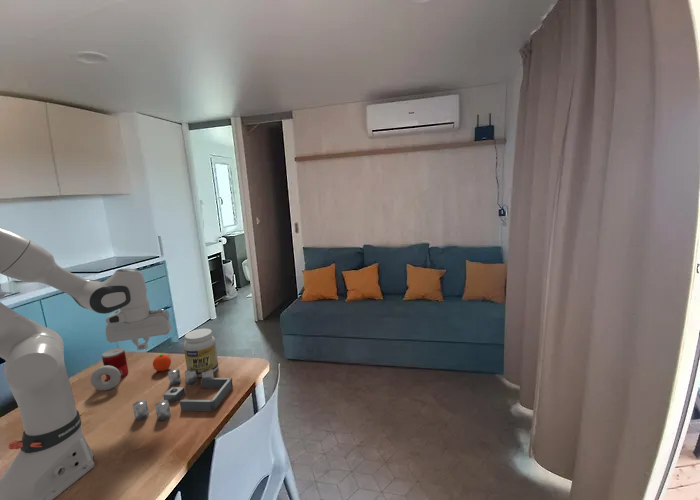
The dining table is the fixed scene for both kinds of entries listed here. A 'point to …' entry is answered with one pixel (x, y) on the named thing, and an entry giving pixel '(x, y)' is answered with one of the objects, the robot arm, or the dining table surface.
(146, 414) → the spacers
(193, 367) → the supplement tub
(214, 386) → the tray
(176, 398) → the grey square block
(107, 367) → the donut
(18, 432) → the dining table surface
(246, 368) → the dining table surface
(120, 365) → the canned food
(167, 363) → the clementine
